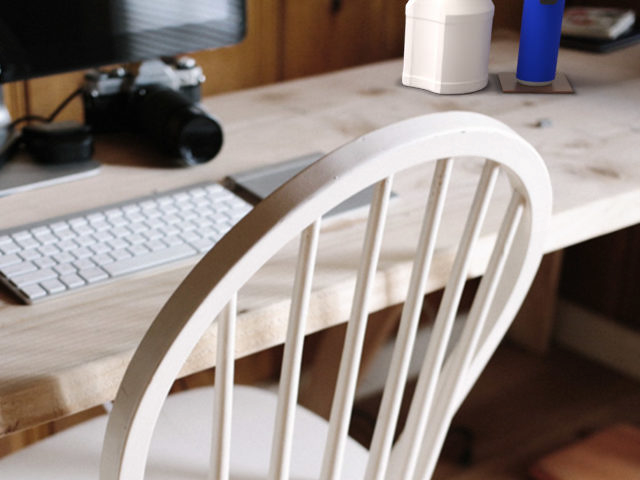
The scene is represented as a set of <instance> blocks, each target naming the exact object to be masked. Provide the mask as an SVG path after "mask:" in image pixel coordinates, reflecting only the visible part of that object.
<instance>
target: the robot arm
mask: <svg viewBox="0 0 640 480" xmlns="http://www.w3.org/2000/svg"><path fill="white" fill-rule="evenodd" d="M557 1H558V0H539V2H540V3H541V4H542V5H554V4H556V3H557Z"/></svg>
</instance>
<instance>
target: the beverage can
mask: <svg viewBox="0 0 640 480" xmlns="http://www.w3.org/2000/svg"><path fill="white" fill-rule="evenodd" d="M565 3H566V0H558V1H557V3H556V4H554V5H542V4H541V3H540V2H539V0H523V7H522V16H521V24H520V25H521V26H520V34H519V42H518V43H519V44H518V52H517V53H518V54H517V63H516V71H515V73H516V78H517V80H518V82H519V83H521V84H523V85H528V86H546V85H549V84H551V83H552V82H553V80H554V79H555V75H556V74H557V66H558V58H559V50H560V43H561V35H562V27H563V19H564V12H565Z"/></svg>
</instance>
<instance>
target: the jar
mask: <svg viewBox="0 0 640 480" xmlns="http://www.w3.org/2000/svg"><path fill="white" fill-rule="evenodd" d="M494 16H495V5H494V2H493V1H492V0H408V2H407V3H406V4H405V27H404V28H405V30H404V51H403V69H402V74H401V83H402V84H403V86H406V87H409V88H416V89H421V90H426V91H429V92H432V93H434V94H438V95H461V94H462V95H463V94H470V93H474V92H478V91H480V90H483V89H484V88H486V87H487V86H488V83H489V82H488V81H489V61H490V50H491V40H492V30H493V20H494Z"/></svg>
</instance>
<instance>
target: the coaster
mask: <svg viewBox="0 0 640 480" xmlns="http://www.w3.org/2000/svg"><path fill="white" fill-rule="evenodd" d="M496 76H497V79H498V81H499V84H500V87H501V91H502V93H503V94H574V90H573V89H572V86H571V85H570V83H569V81H568V79H567V77H566V75H565V73H556V75H555V79H554V80H553V82H552V83H551V84H549V85H546V86H528V85H523V84H521V83H519V82H518V80H517V78H516V72H498V73H497V75H496Z"/></svg>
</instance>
